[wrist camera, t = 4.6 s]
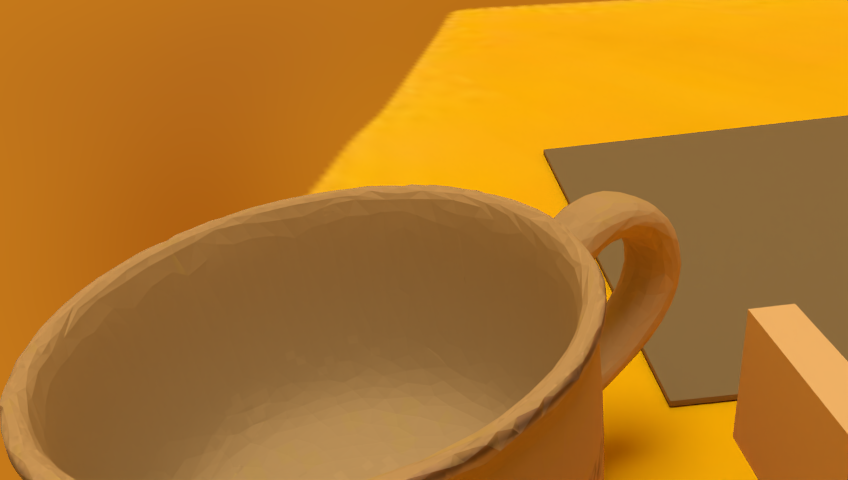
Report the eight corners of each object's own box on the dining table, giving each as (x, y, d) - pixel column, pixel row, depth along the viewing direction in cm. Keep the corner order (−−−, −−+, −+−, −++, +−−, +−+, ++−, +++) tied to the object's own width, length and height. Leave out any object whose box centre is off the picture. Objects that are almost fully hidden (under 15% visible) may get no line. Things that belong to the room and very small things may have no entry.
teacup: (108, 953, 12) (-119, 633, 8) (145, 473, 21) (50, 223, 17) (853, 664, 14) (947, 324, 11) (592, 353, 24) (592, 113, 20)
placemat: (887, 114, 38) (888, 111, 38) (1309, 338, 21) (1312, 332, 21) (543, 153, 39) (543, 149, 39) (669, 406, 21) (670, 401, 21)
